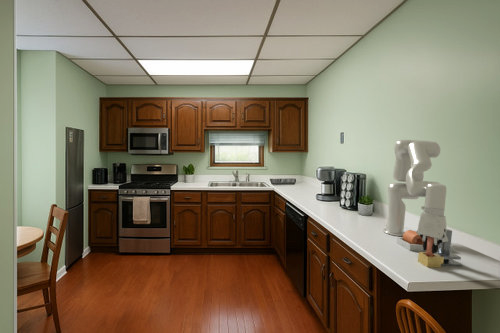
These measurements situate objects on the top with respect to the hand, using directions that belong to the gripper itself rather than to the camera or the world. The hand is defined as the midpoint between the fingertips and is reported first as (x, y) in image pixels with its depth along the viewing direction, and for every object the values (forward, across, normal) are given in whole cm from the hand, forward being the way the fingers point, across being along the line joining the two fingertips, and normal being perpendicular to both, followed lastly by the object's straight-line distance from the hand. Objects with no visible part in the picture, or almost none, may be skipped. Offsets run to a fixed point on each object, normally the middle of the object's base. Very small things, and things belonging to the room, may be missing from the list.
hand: (430, 251), depth 126 cm
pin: (+3, 0, 0) cm, 3 cm away
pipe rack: (+6, -14, +23) cm, 28 cm away
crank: (+7, -14, +24) cm, 29 cm away
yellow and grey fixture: (+6, 0, +7) cm, 9 cm away
